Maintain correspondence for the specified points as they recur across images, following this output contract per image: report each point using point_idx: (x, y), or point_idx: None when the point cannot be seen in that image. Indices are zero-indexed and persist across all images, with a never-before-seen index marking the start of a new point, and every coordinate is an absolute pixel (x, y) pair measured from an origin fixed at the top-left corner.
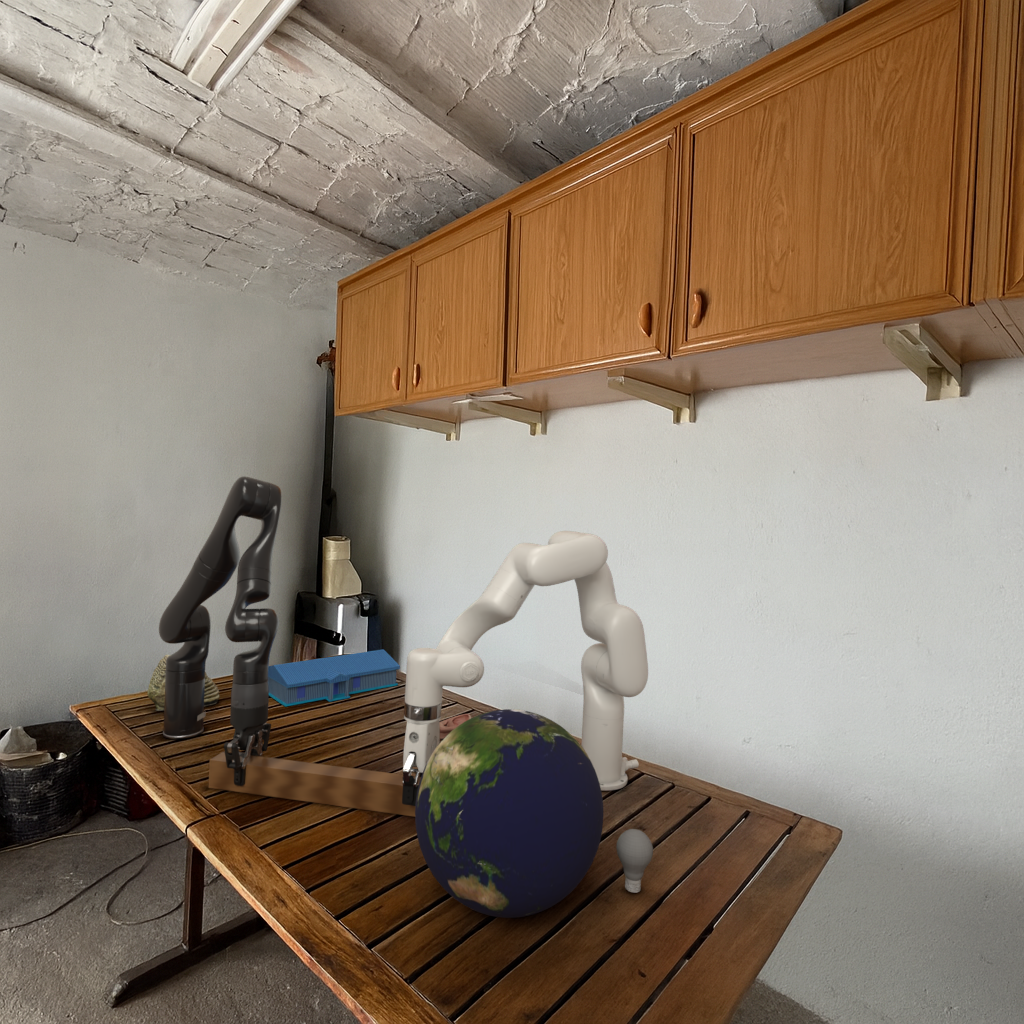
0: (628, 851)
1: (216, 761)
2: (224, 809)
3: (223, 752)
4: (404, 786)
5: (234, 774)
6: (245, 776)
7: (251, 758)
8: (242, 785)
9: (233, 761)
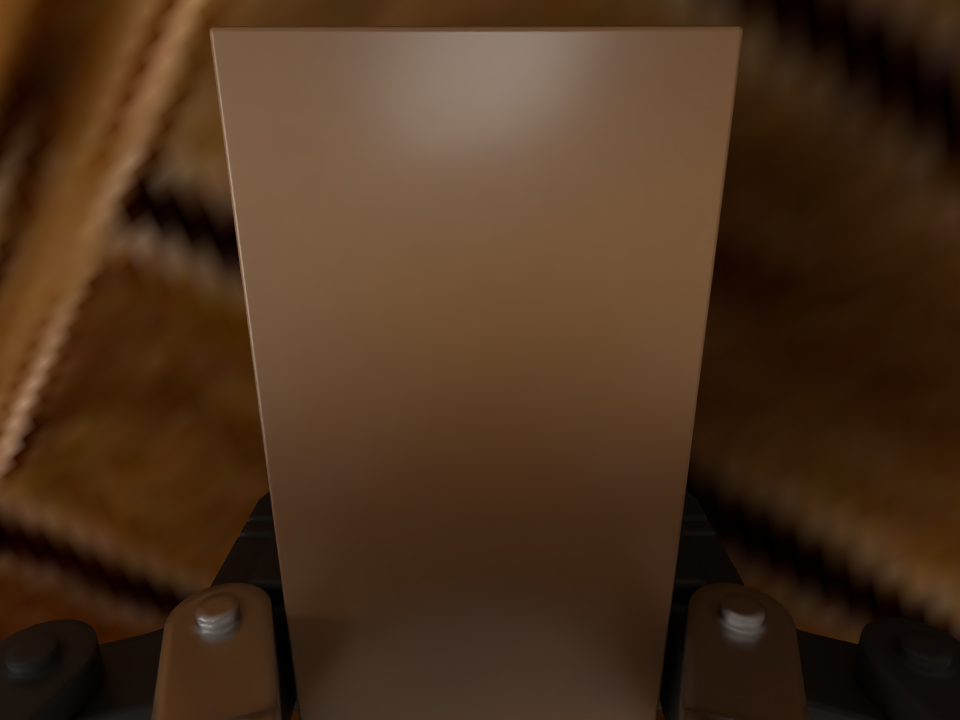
0: None
1: (238, 220)
2: (41, 510)
3: (693, 71)
4: None
5: (226, 564)
6: None
7: (538, 712)
8: None
9: (159, 679)
